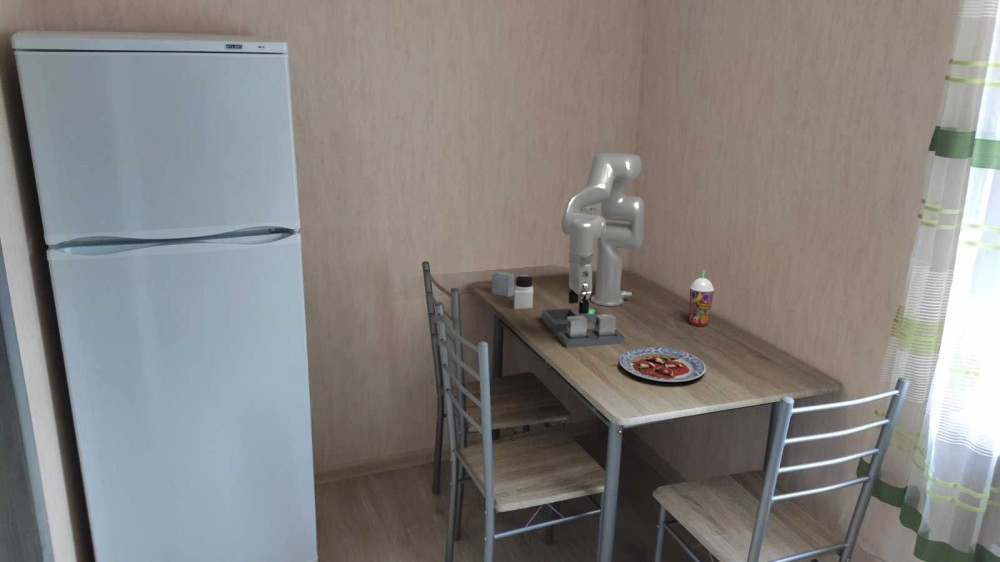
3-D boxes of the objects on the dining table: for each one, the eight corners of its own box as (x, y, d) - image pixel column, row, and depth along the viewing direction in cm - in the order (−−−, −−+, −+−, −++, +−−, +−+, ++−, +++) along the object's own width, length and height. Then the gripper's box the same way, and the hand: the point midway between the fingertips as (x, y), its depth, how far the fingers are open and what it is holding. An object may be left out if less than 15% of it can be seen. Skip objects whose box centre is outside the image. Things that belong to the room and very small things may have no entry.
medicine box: (514, 295, 287) (514, 274, 284) (508, 298, 283) (508, 276, 281) (497, 291, 291) (498, 271, 288) (491, 294, 287) (492, 273, 285)
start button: (591, 317, 260) (592, 307, 259) (595, 320, 256) (596, 311, 255) (582, 317, 259) (583, 308, 258) (586, 321, 256) (586, 311, 255)
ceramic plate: (678, 396, 203) (679, 386, 202) (602, 370, 219) (603, 361, 218) (719, 369, 221) (720, 360, 220) (646, 347, 237) (647, 338, 237)
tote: (570, 319, 260) (571, 308, 259) (585, 334, 247) (585, 322, 245) (541, 321, 258) (542, 309, 257) (554, 336, 244) (555, 324, 243)
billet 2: (609, 336, 243) (611, 313, 240) (614, 340, 239) (615, 317, 237) (593, 337, 241) (595, 314, 239) (598, 341, 238) (599, 318, 235)
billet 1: (581, 337, 241) (582, 315, 238) (585, 342, 237) (587, 319, 235) (565, 339, 239) (566, 316, 237) (569, 343, 236) (570, 320, 233)
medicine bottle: (533, 310, 270) (534, 279, 266) (514, 309, 270) (514, 279, 266) (532, 304, 277) (533, 274, 273) (514, 303, 277) (514, 273, 273)
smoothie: (697, 329, 253) (703, 275, 248) (681, 322, 260) (686, 269, 255) (715, 326, 257) (721, 272, 251) (699, 318, 264) (704, 266, 258)
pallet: (612, 335, 246) (612, 327, 245) (624, 346, 237) (624, 337, 236) (556, 339, 242) (557, 331, 241) (566, 350, 232) (566, 342, 232)
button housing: (594, 318, 262) (595, 308, 261) (601, 325, 256) (602, 314, 254) (576, 319, 260) (576, 309, 259) (582, 326, 254) (583, 315, 253)
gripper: (601, 265, 223) (598, 316, 228) (582, 249, 239) (580, 298, 244) (578, 266, 221) (576, 318, 226) (560, 251, 237) (559, 300, 242)
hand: (578, 308), depth 235 cm, fingers open, 9 cm apart
